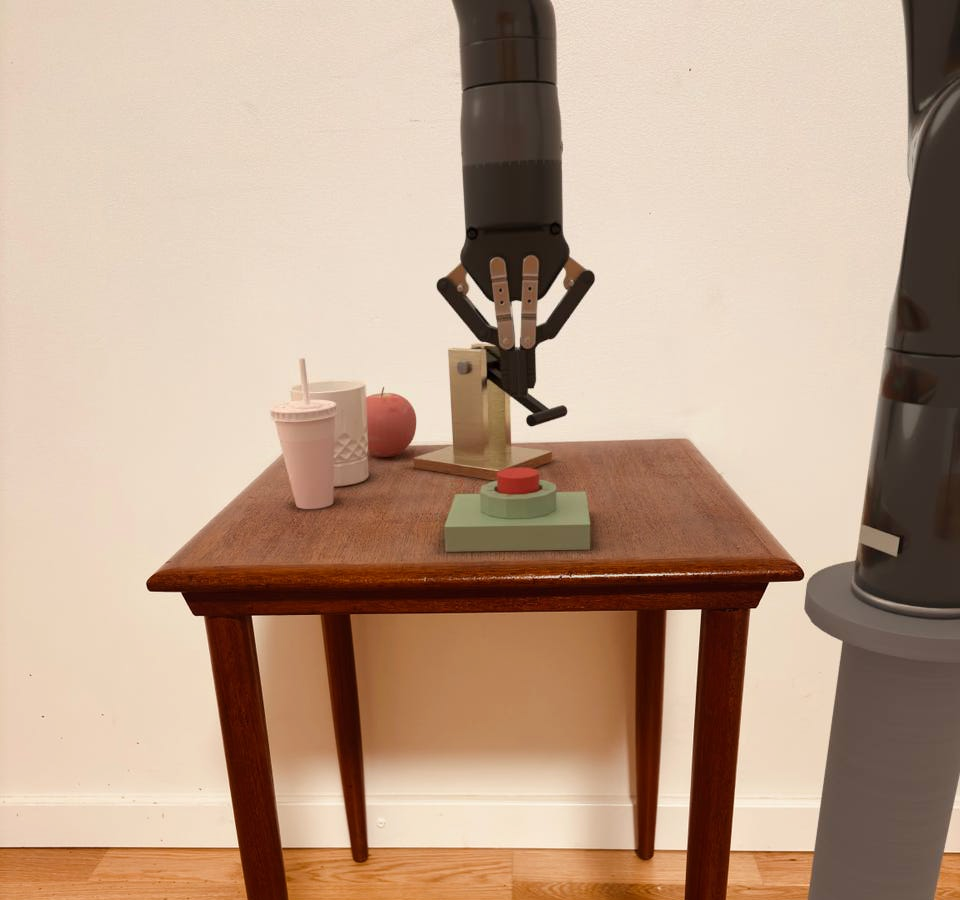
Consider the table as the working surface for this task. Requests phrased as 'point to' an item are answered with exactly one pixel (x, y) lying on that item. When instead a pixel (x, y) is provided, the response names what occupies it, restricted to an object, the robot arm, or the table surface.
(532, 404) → the lever
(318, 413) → the smoothie
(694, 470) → the table surface
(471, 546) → the button block
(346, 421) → the white cup
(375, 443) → the apple
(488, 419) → the tan pivot stand
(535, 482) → the button
